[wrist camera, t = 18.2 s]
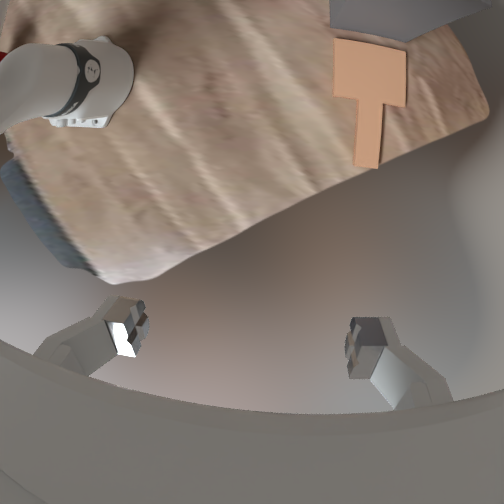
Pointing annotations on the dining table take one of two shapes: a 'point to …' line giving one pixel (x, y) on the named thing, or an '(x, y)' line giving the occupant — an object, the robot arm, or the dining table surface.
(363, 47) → the wooden paddle
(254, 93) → the dining table surface
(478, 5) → the tall box
